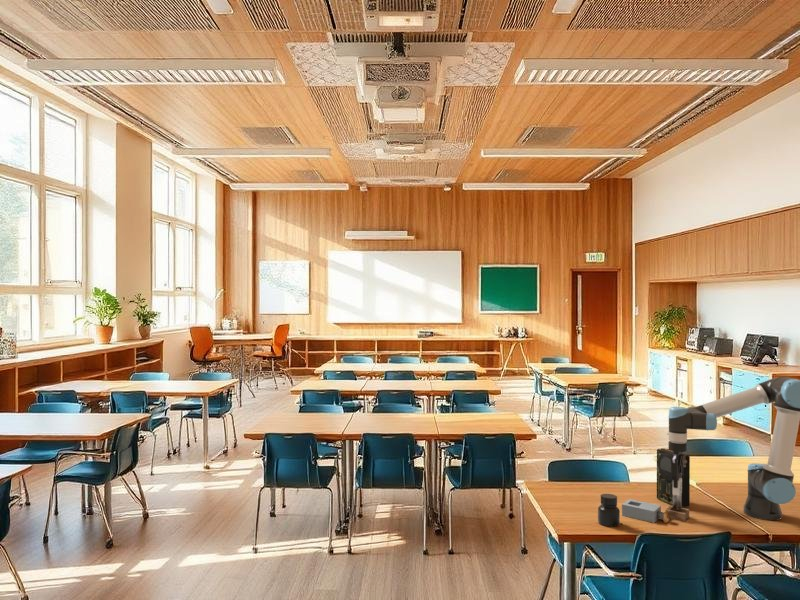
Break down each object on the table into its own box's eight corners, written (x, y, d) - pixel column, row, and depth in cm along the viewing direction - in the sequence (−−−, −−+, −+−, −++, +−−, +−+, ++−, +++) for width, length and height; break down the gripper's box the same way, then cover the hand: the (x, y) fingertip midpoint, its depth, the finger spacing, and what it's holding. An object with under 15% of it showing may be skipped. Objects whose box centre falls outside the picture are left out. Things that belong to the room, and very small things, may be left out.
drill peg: (682, 508, 264) (682, 472, 265) (680, 510, 262) (680, 474, 262) (673, 506, 267) (674, 470, 267) (671, 508, 264) (671, 472, 264)
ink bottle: (615, 519, 260) (615, 492, 260) (623, 527, 251) (624, 499, 252) (594, 519, 260) (594, 492, 260) (601, 527, 251) (601, 499, 251)
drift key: (669, 520, 260) (669, 511, 260) (666, 522, 257) (666, 513, 257) (648, 515, 265) (648, 506, 266) (645, 518, 262) (645, 509, 262)
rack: (689, 517, 265) (689, 509, 265) (684, 522, 258) (684, 514, 258) (670, 513, 270) (670, 505, 270) (665, 517, 264) (665, 510, 264)
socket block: (660, 516, 265) (660, 505, 265) (654, 522, 257) (654, 511, 257) (629, 509, 274) (629, 499, 274) (621, 515, 266) (622, 504, 266)
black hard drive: (654, 498, 290) (654, 448, 291) (668, 497, 293) (668, 447, 293) (677, 509, 275) (677, 455, 276) (692, 507, 278) (692, 454, 278)
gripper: (673, 437, 273) (673, 487, 273) (663, 443, 261) (663, 496, 260) (691, 439, 269) (690, 491, 268) (681, 446, 256) (681, 499, 255)
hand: (677, 493), depth 264 cm, fingers closed on drill peg, 4 cm apart
